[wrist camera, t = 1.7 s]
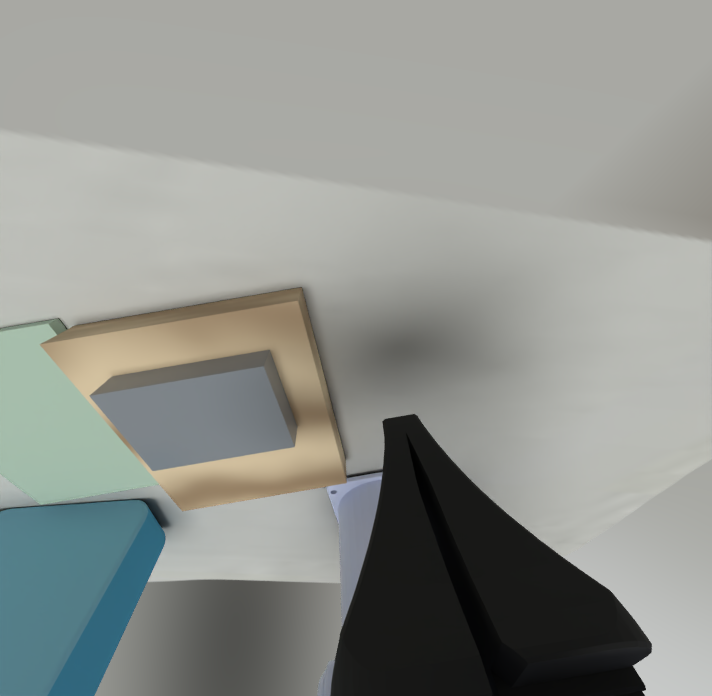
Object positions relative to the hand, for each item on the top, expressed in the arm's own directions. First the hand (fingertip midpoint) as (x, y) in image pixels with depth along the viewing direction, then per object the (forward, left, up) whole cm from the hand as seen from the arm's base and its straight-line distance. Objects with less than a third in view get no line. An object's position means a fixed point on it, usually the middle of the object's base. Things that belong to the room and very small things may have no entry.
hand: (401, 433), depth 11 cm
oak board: (-2, +10, -6) cm, 12 cm away
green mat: (-1, +21, -6) cm, 22 cm away
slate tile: (0, +10, -4) cm, 10 cm away
